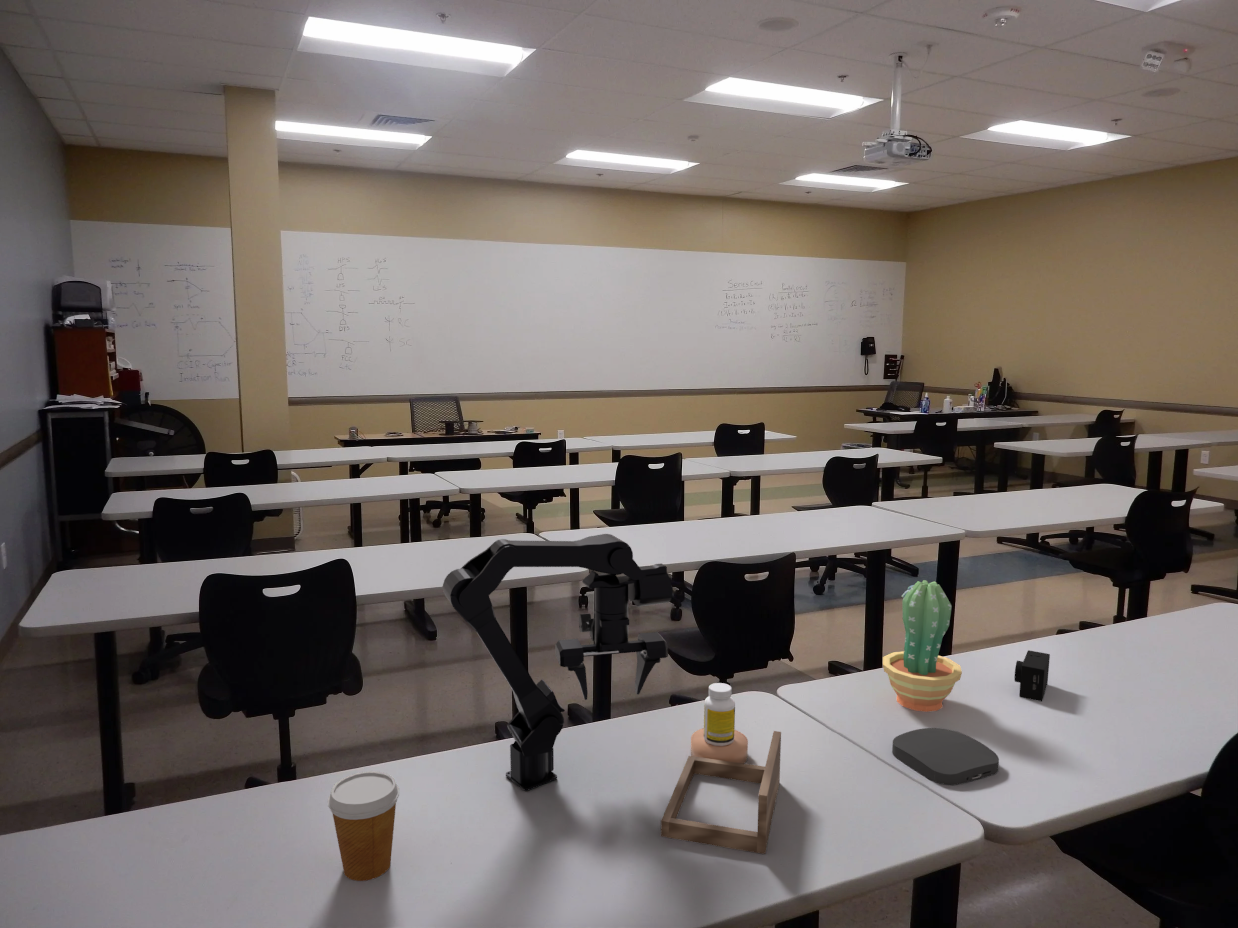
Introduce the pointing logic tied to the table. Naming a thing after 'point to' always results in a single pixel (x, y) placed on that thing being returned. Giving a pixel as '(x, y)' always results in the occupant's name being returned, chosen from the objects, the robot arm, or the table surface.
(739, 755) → the terracotta stand
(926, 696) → the potted cactus
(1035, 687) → the digital camera
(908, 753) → the media streaming box
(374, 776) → the disposable coffee cup
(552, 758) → the robot arm
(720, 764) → the brown wooden frame
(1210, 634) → the table surface
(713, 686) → the supplement bottle
